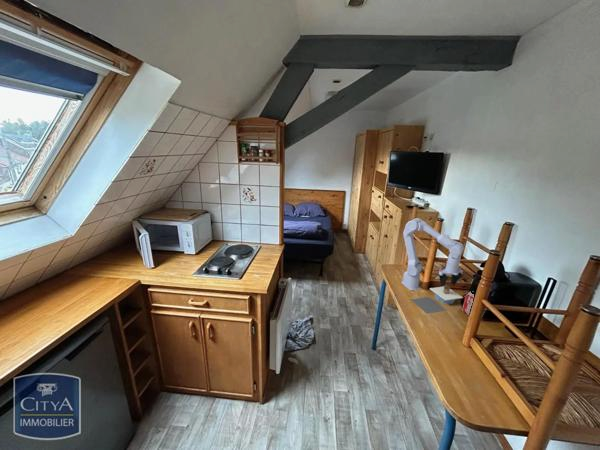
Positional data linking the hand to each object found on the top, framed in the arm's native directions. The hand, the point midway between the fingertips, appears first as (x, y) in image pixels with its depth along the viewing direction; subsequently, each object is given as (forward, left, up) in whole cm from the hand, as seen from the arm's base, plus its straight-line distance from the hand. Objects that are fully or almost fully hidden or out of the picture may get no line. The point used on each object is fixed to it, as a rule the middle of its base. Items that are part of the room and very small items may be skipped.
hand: (447, 284), depth 141 cm
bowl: (0, 0, -10) cm, 10 cm away
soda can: (+14, +3, -10) cm, 17 cm away
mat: (+3, -14, -10) cm, 17 cm away
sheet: (0, 0, -6) cm, 6 cm away
